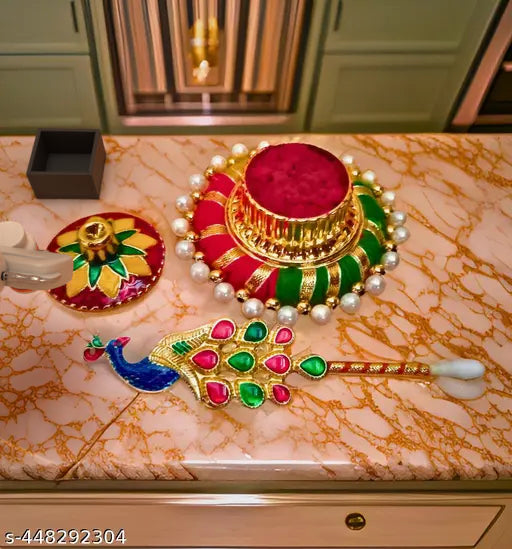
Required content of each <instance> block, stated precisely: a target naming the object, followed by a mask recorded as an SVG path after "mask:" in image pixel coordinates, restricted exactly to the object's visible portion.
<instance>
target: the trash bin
mask: <svg viewBox="0 0 512 549" xmlns="http://www.w3.org/2000/svg"><path fill="white" fill-rule="evenodd" d="M105 147H106V146H105V143H104V140H103V135H102V132H101V129H100V128H65V127H63V128H61V127H58V128H57V127H56V128H55V127H38V128H37V130H36V133H35V138H34V141H33V145H32V150H31V154H30V156H29V160H28V164H27V169H26V172H25V176H26V178H27V181H28V182H29V185H30V187H31V190H32V192H33V194H34V197H35V198H36V199H38V200H39V199H40V200H41V199H42V200H100V195H101V189H102V184H103V178H104V177H103V176H104V172H105V171H104V170H105V164H106V159H107V152H106V148H105Z"/></svg>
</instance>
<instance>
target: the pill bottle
mask: <svg viewBox="0 0 512 549" xmlns="http://www.w3.org/2000/svg"><path fill="white" fill-rule="evenodd" d="M0 246H7V247H15V248H22V249H30V250H38V249H40V248H39V246H38V243H37V241H36V239H35V237H34V236H33V235H32V234H31V233H30V232H29V231H27V230H25V229H24V226H23V225H22V224H20V223H19V222H17V221H13V220H5V221H2V222H0ZM9 288H10V289H11V290H12V291H13V292H15V293H17V294H22V295H29V294H33V293H36V292H38V291H39V290H30V289H23V288H15V287H9Z"/></svg>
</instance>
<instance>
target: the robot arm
mask: <svg viewBox="0 0 512 549" xmlns="http://www.w3.org/2000/svg"><path fill="white" fill-rule="evenodd" d="M73 275H74V258H73V257H72V256H71V255H70V254H65V253H58V252H51V251H50V250H48V249H40V248H39V249H38V250H30V249H22V248H15V247H7V246H0V294H1V293H2V292H3V290H4V289H5V287H9V288H10V287H15V288H23V289H30V290H38V291H50V290H53V289H56V288H59V287H62V286H65V285H67V284H69V283H70V282H72V280H73Z"/></svg>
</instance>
